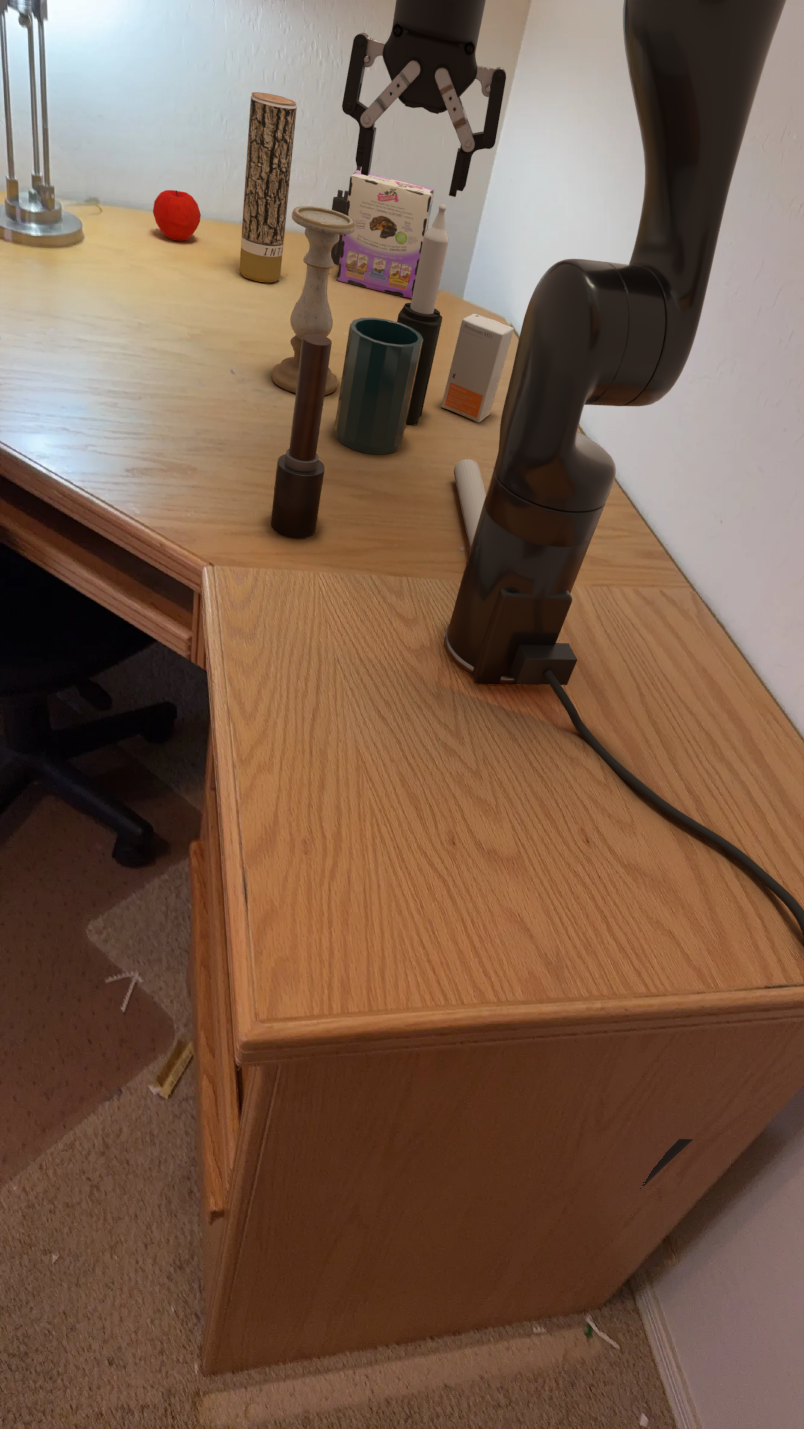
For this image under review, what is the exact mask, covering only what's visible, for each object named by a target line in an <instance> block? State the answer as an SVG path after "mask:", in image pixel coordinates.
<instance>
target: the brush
mask: <svg viewBox="0 0 804 1429" xmlns="http://www.w3.org/2000/svg"><path fill="white" fill-rule="evenodd" d="M332 343H333V341H332V339H331V338H329V337H328V336H327V337H325V336H322V335H319V334H305V335H303V337H302V346H301V354H300V363H299V371H298V380H297V388H296V393H295V399H294V405H293V406H294V407H293V414H292V416H293V417H292V424H291V431H290V432H291V433H290V441H289V448H288V449H286V451H285V453H284V454H282V455H280V456H279V457H278V458H277V461H276V462H277V463H276V469H275V470H276V471H275V480H274V487H273V488H274V489H273V497H272V498H273V500H272V507H271V516H270V517H271V519H270V527H271V530H273V531H274V532H275V533H276V534H278V535H280V536H282V537H284V538H288V539H294V540H301V539H303V540H304V539H307V538H310V537H312V536H313V535H314V534H315V533H316V529H317V525H318V524H317V523H318V518H319V517H318V516H319V509H320V503H321V496H322V489H323V483H324V482H323V481H324V478H325V477H324V476H325V471H326V470H325V468H326V467H325V464H324V463H323V462H322V461H321V460H320V456H319V454H318V452H317V451H318V444H319V438H320V431H321V423H322V416H323V409H324V401H325V396H326V395H325V388H326V381H327V373H328V367H329V365H330V358H331V352H332Z"/></svg>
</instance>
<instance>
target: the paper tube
mask: <svg viewBox="0 0 804 1429" xmlns="http://www.w3.org/2000/svg"><path fill="white" fill-rule="evenodd" d="M250 94H251V96H250V105H249V117H248V131H247V132H248V134H247V149H246V162H245V178H244V190H243V191H244V192H243V206H242V207H243V208H242V221H241V222H242V223H241V224H242V225H241V238H240V251H239V252H240V253H239V266H238V267H239V272H240V274H241V275H242V276H243V277H245V278H246V279H248V280H251V281H255V282H260V283H275V282H277V281H278V280H279V279H280V278H281V273H282V264H283V253H284V242H285V235H286V234H285V233H286V223H287V212H288V204H289V203H288V202H289V201H288V200H289V191H290V182H291V173H292V172H291V171H292V160H293V149H294V140H295V139H294V138H295V130H296V120H297V119H296V118H297V110H298V106H297V104H298V102H297V101H295V100H293V99H290V98H288V97H284V96H281V95H277V94H273V93H267V92H260V91H259V92H258V91H253V92H251V93H250Z"/></svg>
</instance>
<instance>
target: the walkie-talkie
mask: <svg viewBox="0 0 804 1429" xmlns="http://www.w3.org/2000/svg"><path fill="white" fill-rule="evenodd" d="M361 168H362V167H359V166H357V165H356V170H355V171H357V170H359V171H361ZM348 191H349V190H342V189H337V195H336V196H333V198H332V203H331V204H332V205H331V210H334V211H337V212H340V213H343V214H346V207H347V199H348ZM342 237H343V235H339V241H338V242H337V243H336V244H335V245H334V246H333V248H332V250H331V257H332V260H333V262H334V265H337V266H339V261H340V253H341V246H342Z"/></svg>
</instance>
